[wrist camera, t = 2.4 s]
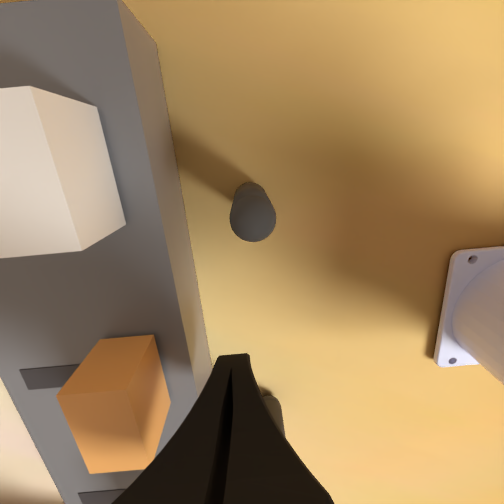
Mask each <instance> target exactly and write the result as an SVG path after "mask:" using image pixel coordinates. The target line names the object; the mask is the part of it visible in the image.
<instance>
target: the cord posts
mask: <svg viewBox="0 0 504 504" xmlns="http://www.w3.org/2000/svg"><path fill="white" fill-rule="evenodd" d="M230 224H231V228H232V230H233V231H234V233H235V234H236V235H237V236H238V237H239V238H241V239H243V240H245V241H249V242H257V241H261V240H263V239H265V238H266V237H268V236H269V235H270V234H271V232H272V231H273V229H274V227H275V224H276V213H275V210H274V208H273V206H272V204H271V202H270V200H269V198H268V196H267V194H266V193H265V191H264V189H263V188H262V187H261V186H260V185H258V184H256V183H252V182H248V183H244V184H242V185H241V186H240V187H239V188H238V189H237V190H236V192H235V196H234V200H233V204H232V208H231V212H230ZM263 399H264V401H265V403H266V405H267V407H268V409H269V411H270V413H271V415H272V417H273V418H274V420H275V422H276V424H277V425H278V427H279V429H280V430H281V432H282V433H283V435H284V437H285V431H284V424H283V417H282V410H281V405H280V403H279V401H278V400H277V399H276V398H275V397H273V396H270V395H268V396H264V397H263Z"/></svg>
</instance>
